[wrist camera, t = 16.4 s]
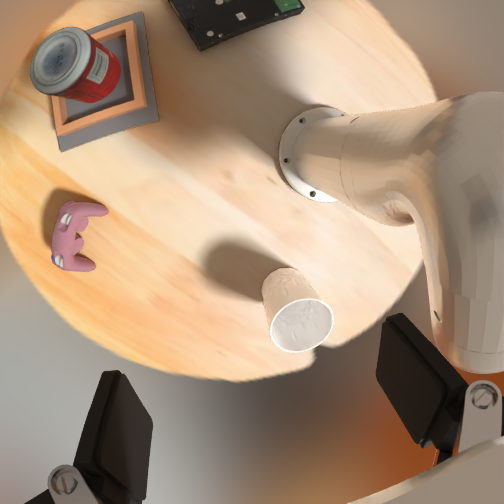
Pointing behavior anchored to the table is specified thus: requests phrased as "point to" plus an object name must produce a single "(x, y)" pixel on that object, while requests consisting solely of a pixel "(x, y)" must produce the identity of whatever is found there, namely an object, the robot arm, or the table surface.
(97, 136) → the cradle jig
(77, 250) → the video game controller
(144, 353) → the table surface
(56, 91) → the soda can
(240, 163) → the table surface
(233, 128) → the table surface
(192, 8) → the disk drive
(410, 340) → the robot arm
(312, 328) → the white cup
